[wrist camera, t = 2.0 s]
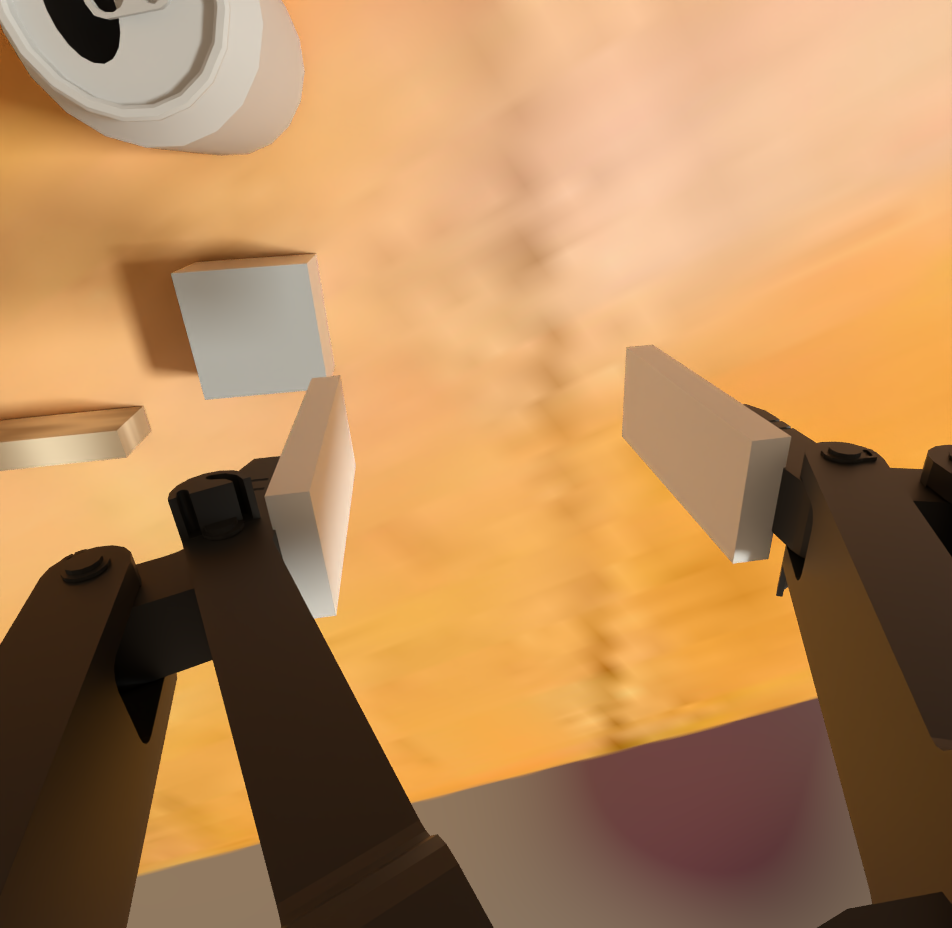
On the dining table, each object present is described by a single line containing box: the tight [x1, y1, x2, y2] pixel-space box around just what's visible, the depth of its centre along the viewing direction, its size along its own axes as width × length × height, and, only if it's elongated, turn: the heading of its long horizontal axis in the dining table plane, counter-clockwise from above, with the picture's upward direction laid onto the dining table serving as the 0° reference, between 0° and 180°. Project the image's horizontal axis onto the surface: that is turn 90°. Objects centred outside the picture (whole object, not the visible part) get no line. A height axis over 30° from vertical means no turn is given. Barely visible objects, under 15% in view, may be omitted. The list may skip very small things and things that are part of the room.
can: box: [0, 0, 305, 156], centre depth 21 cm, size 8×8×12 cm
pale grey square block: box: [171, 253, 335, 400], centre depth 30 cm, size 6×6×4 cm
